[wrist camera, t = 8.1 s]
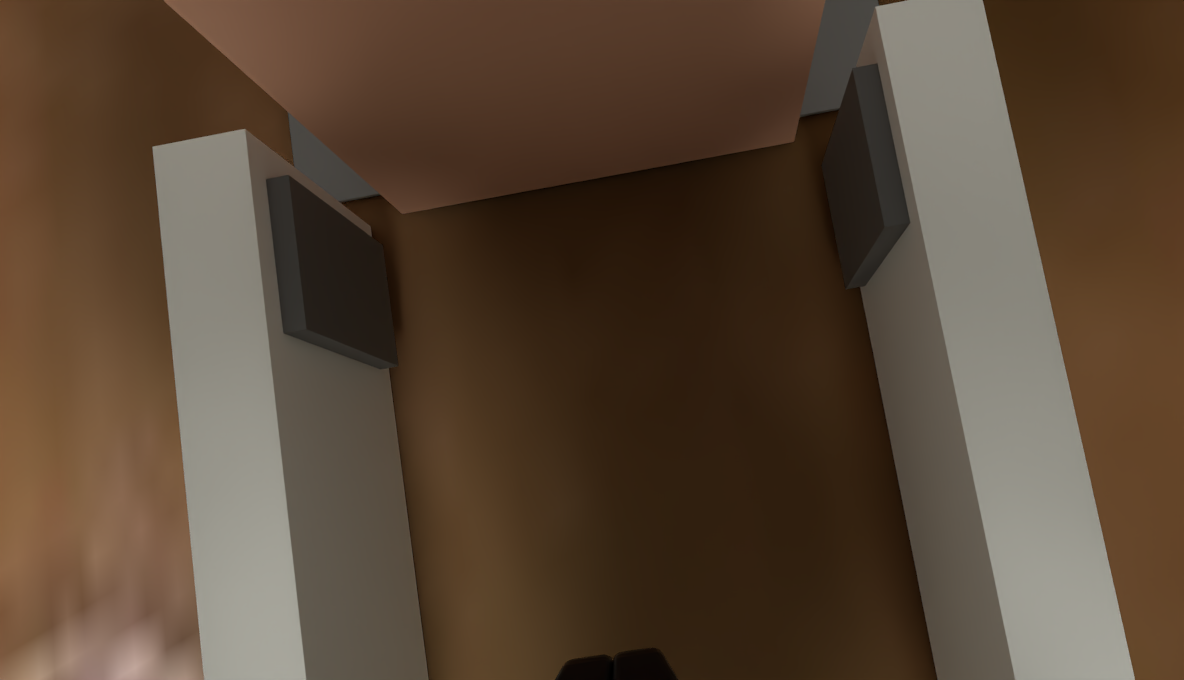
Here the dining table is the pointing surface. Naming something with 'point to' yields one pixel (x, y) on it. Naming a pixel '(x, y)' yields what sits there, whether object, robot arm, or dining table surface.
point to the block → (521, 84)
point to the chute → (868, 260)
